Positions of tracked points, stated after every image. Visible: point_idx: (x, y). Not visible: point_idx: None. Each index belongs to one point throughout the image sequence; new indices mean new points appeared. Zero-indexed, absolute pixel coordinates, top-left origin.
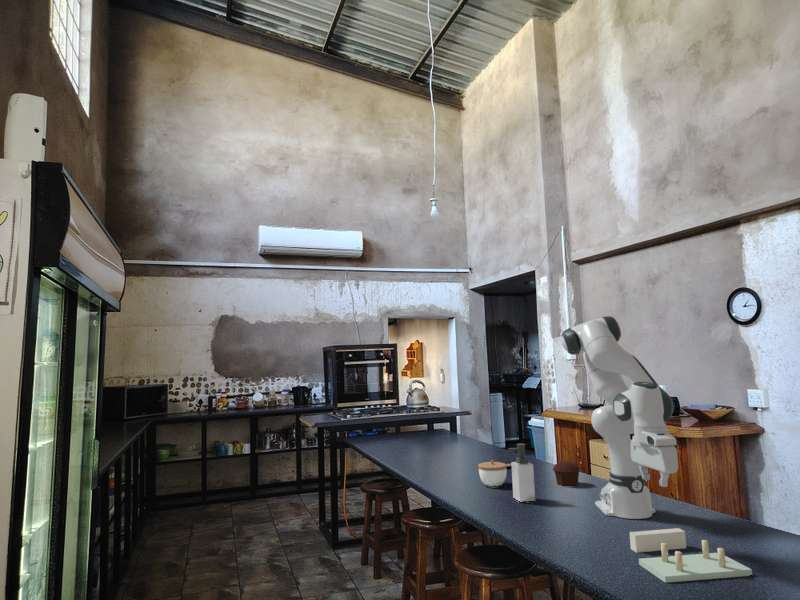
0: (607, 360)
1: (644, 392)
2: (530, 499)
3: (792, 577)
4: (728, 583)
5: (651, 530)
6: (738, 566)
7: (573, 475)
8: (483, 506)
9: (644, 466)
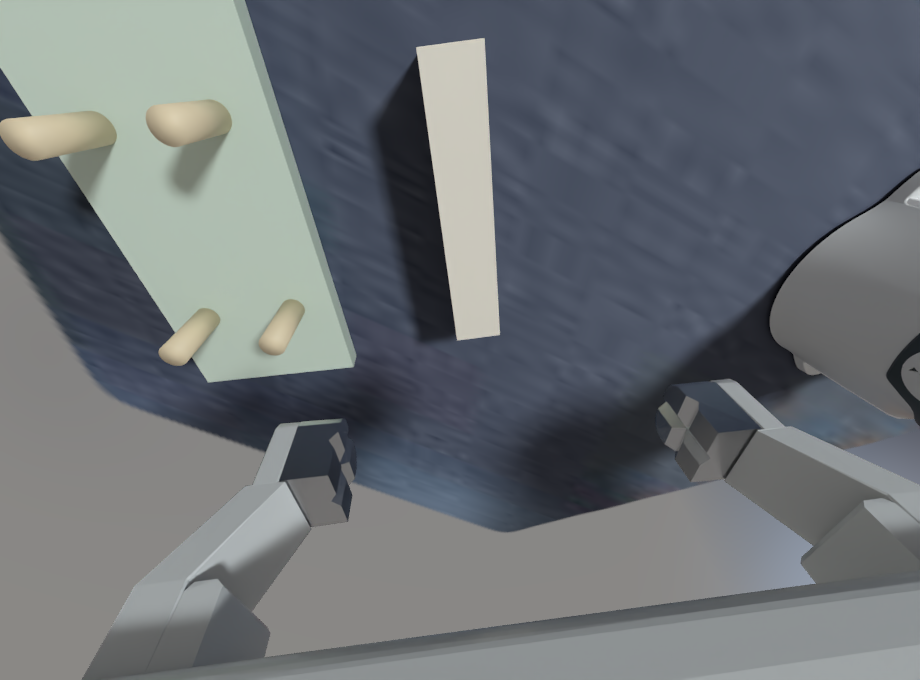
0: None
1: None
2: None
3: (230, 439)
4: (113, 278)
5: (491, 204)
6: (226, 361)
7: None
8: None
9: (843, 555)
